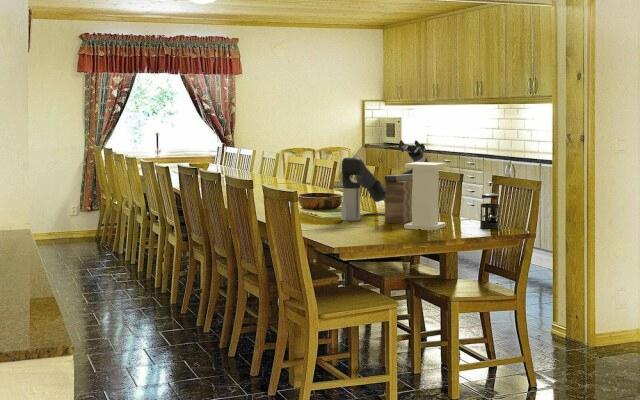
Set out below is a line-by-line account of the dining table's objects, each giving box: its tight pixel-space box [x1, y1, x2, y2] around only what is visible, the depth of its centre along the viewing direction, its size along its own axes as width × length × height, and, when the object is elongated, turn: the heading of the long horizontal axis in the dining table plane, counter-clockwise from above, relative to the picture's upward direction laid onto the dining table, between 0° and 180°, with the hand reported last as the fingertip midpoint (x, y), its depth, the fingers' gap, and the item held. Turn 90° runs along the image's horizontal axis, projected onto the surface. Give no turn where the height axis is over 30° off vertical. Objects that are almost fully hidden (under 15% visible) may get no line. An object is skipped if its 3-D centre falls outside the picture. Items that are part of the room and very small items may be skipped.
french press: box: [479, 181, 500, 230], centre depth 412 cm, size 12×9×23 cm
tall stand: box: [403, 161, 448, 232], centre depth 415 cm, size 16×16×32 cm
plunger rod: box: [384, 174, 413, 182], centre depth 438 cm, size 26×6×3 cm, turn 131°
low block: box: [384, 180, 413, 225], centre depth 437 cm, size 12×10×22 cm
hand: (408, 141), depth 455 cm, fingers open, 8 cm apart
